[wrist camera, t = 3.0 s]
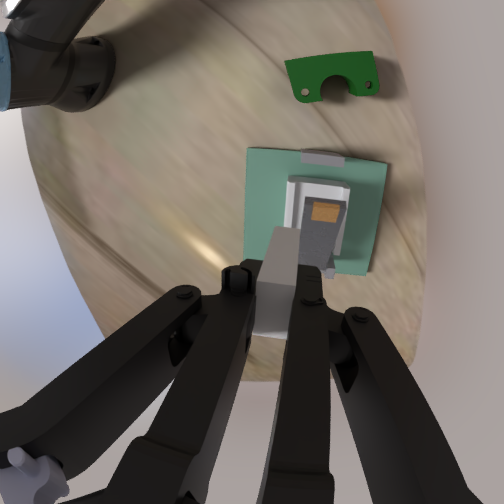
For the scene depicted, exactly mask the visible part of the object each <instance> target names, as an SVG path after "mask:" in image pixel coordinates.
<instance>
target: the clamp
mask: <svg viewBox="0 0 504 504" xmlns="http://www.w3.org/2000/svg"><path fill="white" fill-rule="evenodd" d="M284 62H285V66H286V69H287V73H288V76H289V78H290V82H291V86H292V89H293V93H294V96H295V98H296V99H297V100H298V101H300V102H302V103H310V102H317V101H323V100H322V98H321V95H320V87H321V84H322V82H323V81H324V80H325V79H326V78H327V77H329V76H332V75H339V76H341V77H342V78H343V79H344V80H345V81H346V82H347V84H348V88H349V93H350V94H353V95H355V96H367V95H374V94H376V93H377V92H378V90H379V80H378V75H377V70H376V65H375V61H374V56H373V52H372V51H360V52H345V53H335V54H326V55H318V56H311V57H304V58H298V59H292V60H287V61H284ZM367 81H369V82H370V86H369V87H368V88H366V86H365V83H366V82H367ZM304 88H306V89H308V90H309V94H308V95H306V96H304V95H302V94H301V90H302V89H304Z"/></svg>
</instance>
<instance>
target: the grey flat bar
mask: <svg viewBox="0 0 504 504" xmlns="http://www.w3.org/2000/svg"><path fill="white" fill-rule="evenodd" d="M346 210H347V207H346V201H342V200H334V199H326V198H317V197H308V196H305V200H304V207H303V214H302V221H301V228H300V239H299V254H298V264H302V265H310V266H317V267H318V269H319V270H325V268H326V265H327V263H328V260H329V257H330V255H331V252H332V249H333V247H334V244H335V241H336V238H337V236H338V233H339V230H340V227H341V224H342V221H343V218H344V216H345V213H346Z"/></svg>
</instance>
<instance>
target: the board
mask: <svg viewBox="0 0 504 504" xmlns="http://www.w3.org/2000/svg"><path fill="white" fill-rule="evenodd" d="M386 171H387V164H386V163H382V162H376V161H370V160H364V159H358V158H352V157H345V156H341V155H339V154H338V153H334V152H326V151H318V150H308V149H301V151H293V150H280V149H266V148H247V156H246V186H245V219H244V255H243V261H244V260H246V259H247V258H248V259H256V260H264V257H265V254H266V251H267V249H268V246H269V243H270V240H271V237H272V234H273V231H274V228H275V226H280V227H289V228H297V229H300V228H301V221H302V214H303V207H304V200H305V196H308V197H317V198H326V199H334V200H342V201H346V207H347V210H346V213H345V216H344V218H343V221H342V224H341V227H340V230H339V233H338V236H337V238H336V241H335V244H334V247H333V249H332V252H331V255H330V257H329V260H328V263H327V265H326V268H325V270H320V271H321V273H324V275H325V278H328V279H334V274H335V273H340V274H350V275H360V276H366V274H367V270H368V266H369V262H370V257H371V253H372V249H373V244H374V240H375V235H376V230H377V225H378V220H379V215H380V209H381V204H382V198H383V192H384V185H385V178H386Z"/></svg>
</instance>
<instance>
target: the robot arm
mask: <svg viewBox="0 0 504 504" xmlns="http://www.w3.org/2000/svg"><path fill="white" fill-rule="evenodd" d="M104 1H105V0H0V7H1V11H2V15H3V18H8V19H12V20H11V21H10V23H9V25H8V27H7V29H6V30H5V32H0V111H6V110H9V109H15V108H23V107H31V106H40V105H50V106H53V107H55V108H58V109H60V110H63V111H65V112H83V111H86V110H88V109H90V108H91V107H93V106H94V105H95V104H96V103H97V102H98V101H99V100H100V99H101V98H102V97H103V95H104V94H105V92H106V91H107V89H108V87H109V85H110V83H111V80H112V77H113V74H114V69H115V53H114V50H113V47H112V46H111V44H110V43H109V42H108V41H106V40H105V39H102V38H98V37H94V36H88V37H82V38H77V39H74V38H75V36H76V35H77V34H78V32H79V31H80V30H81V29H82V27H83V26H84V25H85V23H86V22H87V21H88V20H89V18H90V17H91V16H92V15H93V14H94V12H95V11H96V10H97V9H98V8H99V7H100V6H101V4H102V3H103V2H104ZM299 239H300V229H297V228H289V227H280V226H275V228H274V231H273V234H272V237H271V240H270V243H269V246H268V249H267V251H266V254H265V257H264V260H256V259H248V258H247V259H246V260H244V261H242V262H241V263H240V265H235V266H229V267H226V268H224V269H223V270H222V289H221V291H220V293H219V294H216V295H201V291H200V289H199V288H197V287H195V286H192V285H180V286H176V287H174V288H172V289H171V290H170V291H168V292H167V293H166V294H164V295H163V296H162V297H160V298H159V299H158V300H156V301H155V302H154V303H152V304H151V305H150V306H148V307H147V308H146V309H144V310H143V311H142V312H140V313H139V314H138V315H136V316H135V317H134V318H132V319H131V320H130V321H128V322H127V323H126V324H124V325H123V326H122V327H121V328H119V329H118V330H117V331H115V332H114V333H113V334H111V335H110V336H109V337H108V338H106V339H105V340H104V341H102V342H101V343H100V344H98V345H97V346H96V347H95V348H93V349H92V350H91V351H89V352H88V353H87V354H86V355H84V356H83V357H82V358H80V359H79V360H78V361H77V362H75V363H74V364H73V365H72V366H70V367H69V368H68V369H67V370H65V371H64V372H63V373H62V374H60V375H59V376H58V377H57V378H55V379H54V380H53V381H51V382H50V383H49V384H48V385H46V386H45V387H44V388H43V389H41V390H40V391H39V392H38V393H36V394H35V395H34V396H33V397H32V398H30V399H29V400H28V401H27V402H26V403H24V404H23V405H22V406H19V407H16V408H14V409H11V410H8V411H6V412H3V413H0V493H1V495H2V498H3V501H4V503H5V504H54V503H55V501H56V500H57V499H58V498H60V497H65V496H67V495H68V494H69V486H68V485H67V482H66V481H68V480H69V479H72V478H74V477H76V476H77V475H79V474H80V473H82V472H83V471H85V470H86V469H87V468H88V467H90V466H91V465H92V464H93V463H94V462H95V461H96V460H97V459H98V458H99V457H100V456H101V455H102V454H103V453H104V452H105V451H106V450H107V449H108V448H109V447H110V446H111V445H112V444H113V443H114V442H115V441H116V440H117V439H118V438H119V437H120V436H121V435H122V434H123V433H124V431H126V429H127V428H128V427H129V426H130V425H131V424H132V423H133V422H134V421H135V420H136V419H137V418H138V417H139V416H140V415H141V414H142V413H143V412H144V411H145V410H146V408H147V407H148V406H149V405H150V404H151V403H152V402H153V401H154V400H155V399H156V398H157V397H158V396H159V395H160V393H161V392H162V391H163V390H164V389H165V388H166V387H167V386H168V385H169V384H170V383H171V382H172V380H173V379H174V378H175V379H174V381H173V383H172V385H171V387H170V389H169V391H168V393H167V395H166V397H165V399H164V401H163V403H162V405H161V406H160V409H159V411H158V412H157V414H156V416H155V418H154V420H153V422H152V424H151V426H150V428H149V430H148V432H147V433H146V434H145V435H144V436H140V437H136V438H135V439H134V440H132V442H131V443H130V445H129V446H128V448H127V449H126V451H125V453H124V455H123V457H122V459H121V461H120V463H119V465H118V467H117V469H116V470H115V472H114V474H113V476H112V478H111V480H110V482H109V484H108V486H107V488H105V489H102V490H99V491H96V492H93V493H91V494H88V495H85V496H82V497H79V498H76V499H73V500H69V501H66V502H62V503H58V504H204V503H205V501H206V497H207V493H208V485H209V481H210V477H211V474H212V471H213V468H214V465H215V461H216V458H217V455H218V452H219V449H220V446H221V442H222V439H223V436H224V433H225V429H226V426H227V423H228V420H229V416H230V413H231V410H232V406H233V403H234V400H235V396H236V393H237V389H238V386H239V383H240V379H241V376H242V372H243V369H244V365H245V362H246V358H247V355H248V351H249V348H250V344H251V335H252V331H253V335H259V336H265V337H272V338H280V339H287V340H286V345H285V351H284V356H283V366H282V372H281V379H280V385H279V391H278V398H277V403H276V409H275V415H274V421H273V427H272V432H271V437H270V442H269V448H268V453H267V458H266V463H265V468H264V473H263V478H262V482H261V486H260V491H259V495H258V498H257V502H256V504H334V491H335V487H334V485H335V484H334V477H333V475H332V474H331V473H330V471H329V454H330V416H331V414H330V411H331V403H330V402H331V400H330V369H331V372H332V375H333V378H334V380H335V383H336V386H337V389H338V392H339V395H340V398H341V401H342V404H343V407H344V410H345V413H346V416H347V419H348V422H349V425H350V428H351V432H352V435H353V438H354V441H355V444H356V447H357V451H358V454H359V457H360V461H361V464H362V467H363V471H364V474H365V477H366V481H367V484H368V487H369V491H370V495H371V498H372V502H373V504H483V503H482V502H481V501H480V500H479V499H478V498H477V497H476V496H475V495H474V494H473V493H472V492H471V491H470V490H469V488H468V487H467V484H466V482H465V480H464V477H463V475H462V473H461V470H460V468H459V466H458V463H457V461H456V459H455V457H454V455H453V452H452V450H451V448H450V446H449V444H448V442H447V440H446V438H445V436H444V434H443V432H442V430H441V428H440V426H439V424H438V422H437V420H436V418H435V416H434V414H433V412H432V410H431V408H430V407H429V404H428V403H427V401H426V399H425V397H424V395H423V393H422V392H421V390H420V388H419V387H418V384H417V383H416V381H415V379H414V377H413V376H412V374H411V372H410V371H409V369H408V367H407V365H406V364H405V362H404V360H403V359H402V357H401V355H400V354H399V352H398V350H397V349H396V347H395V345H394V344H393V342H392V341H391V339H390V337H389V336H388V334H387V333H386V331H385V329H384V328H383V326H382V325H381V323H380V322H379V320H378V319H377V317H376V316H375V314H374V313H373V312H371V311H370V310H368V309H366V308H363V307H351V308H348V309H347V310H346V311H345V313H344V314H343V313H340V312H337V311H335V310H332V309H331V308H329V307H328V306H327V303H326V300H325V299H324V298H323V291H322V278H321V271H320V270H319V269H318V267H317V266H310V265H302V264H298V254H299Z"/></svg>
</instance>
